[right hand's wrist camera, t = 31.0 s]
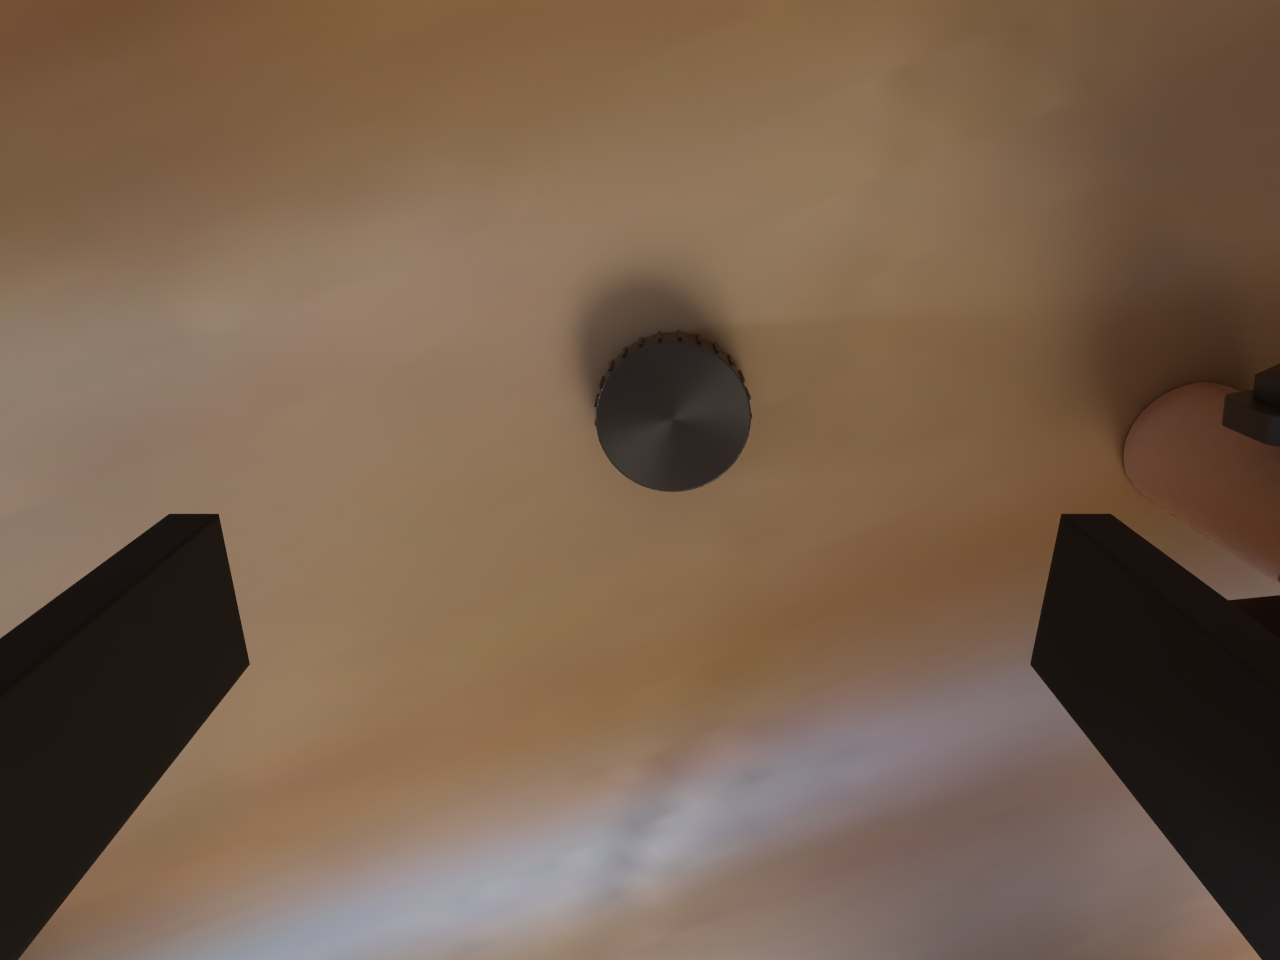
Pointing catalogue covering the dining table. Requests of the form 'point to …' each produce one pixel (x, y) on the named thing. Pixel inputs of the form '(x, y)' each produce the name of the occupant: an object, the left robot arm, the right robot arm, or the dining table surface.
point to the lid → (673, 412)
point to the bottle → (1208, 473)
